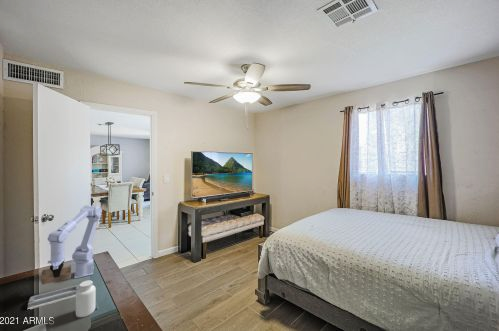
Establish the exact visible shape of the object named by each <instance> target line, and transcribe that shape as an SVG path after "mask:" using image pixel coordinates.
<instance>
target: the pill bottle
mask: <svg viewBox="0 0 499 331" xmlns="http://www.w3.org/2000/svg"><path fill="white" fill-rule="evenodd" d="M78 285H79V284H78ZM96 290H97V289H96V286H95V285H94V284H93V280H90V279H89V280H88V279H87V280H84V281H82V282H81V283H80V285H79V289H78V290H77V292H76V297H75V315H76V317H77V318H84V317H88V316H89V315H91V314H93V313H94V312H95V310H96V299H97V298H96V297H97V296H96V293H97V291H96Z"/></svg>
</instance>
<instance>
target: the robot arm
mask: <svg viewBox="0 0 499 331" xmlns="http://www.w3.org/2000/svg"><path fill="white" fill-rule="evenodd" d="M102 212H103V209H102V207H101V206H100V205H84V206H83V207H81V208H80V212H78V213H77V215H75V216H74V218H72V219H71V220H67V221H66V222H64V224H62V225H61V226H60V227H59V228H58V229H56V230H53V231H52V232H50V233H49V235H48V237H47V241H48V242H49V245H50V260H48V261H47V264H50V265H49V269H51V271H52V272H53V276H54V278H56V277H59V276H60V272H61V269H62V267H63V266H65V265H64V263H65V260H66V259H65V241H66V240H67V239H68V236H69V235H70V234H71V232H72V231H74V230H75V229H76V228H77V224H79V223H80V222H81V221H83V220H84V219H85V218H87V220H88V222H87V225H86V229H85V231H84V234H83V237H82V240H81V243H80V245H78V246H76V247H75V250H74V251H73V253H72V255H71V259H72V260H73V261H74V262H75V272H74V275H73V276H74V277H73V279H79V278H82V277H83V278H84V277H88V276H91V275H93V274H94V269H95V267H94V258H93V257H94V250H95V248H94V247H93V246H92V243H93V240H94V236H95V234H96V230H97V227H98V223H99V220H100V219H101V216H102Z"/></svg>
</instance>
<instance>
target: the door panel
mask: <svg viewBox="0 0 499 331" xmlns="http://www.w3.org/2000/svg"><path fill="white" fill-rule="evenodd" d="M71 277H72V264H68V265H67V264H66V265H63V267H62V269H61V272H60V276H59V277H56V278H54V276H53V272H52V271H51V269H50V268H47V269H43V270H42V271H41V286H42V285H47V284H51V283H55V282H59V281H60V282H61V281H65V280H68V279H71Z"/></svg>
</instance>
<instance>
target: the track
mask: <svg viewBox="0 0 499 331" xmlns="http://www.w3.org/2000/svg"><path fill="white" fill-rule="evenodd" d="M80 284H81V283H80ZM80 284H79V283H78V284H76V285H71V286H67V287H63V288H60V289H56V290H52V291H48V292H44V293H40V294H36V295H32V296H30V297H29V300H28V303H27V310H28V309H30V310H33V309H36V308H41V307H44V306H48V305H50V304H54V303H59V302H62V301H66V300H68V299H69V300H70V299H73V298H76V292H77V290H78V289H79V285H80Z"/></svg>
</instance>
